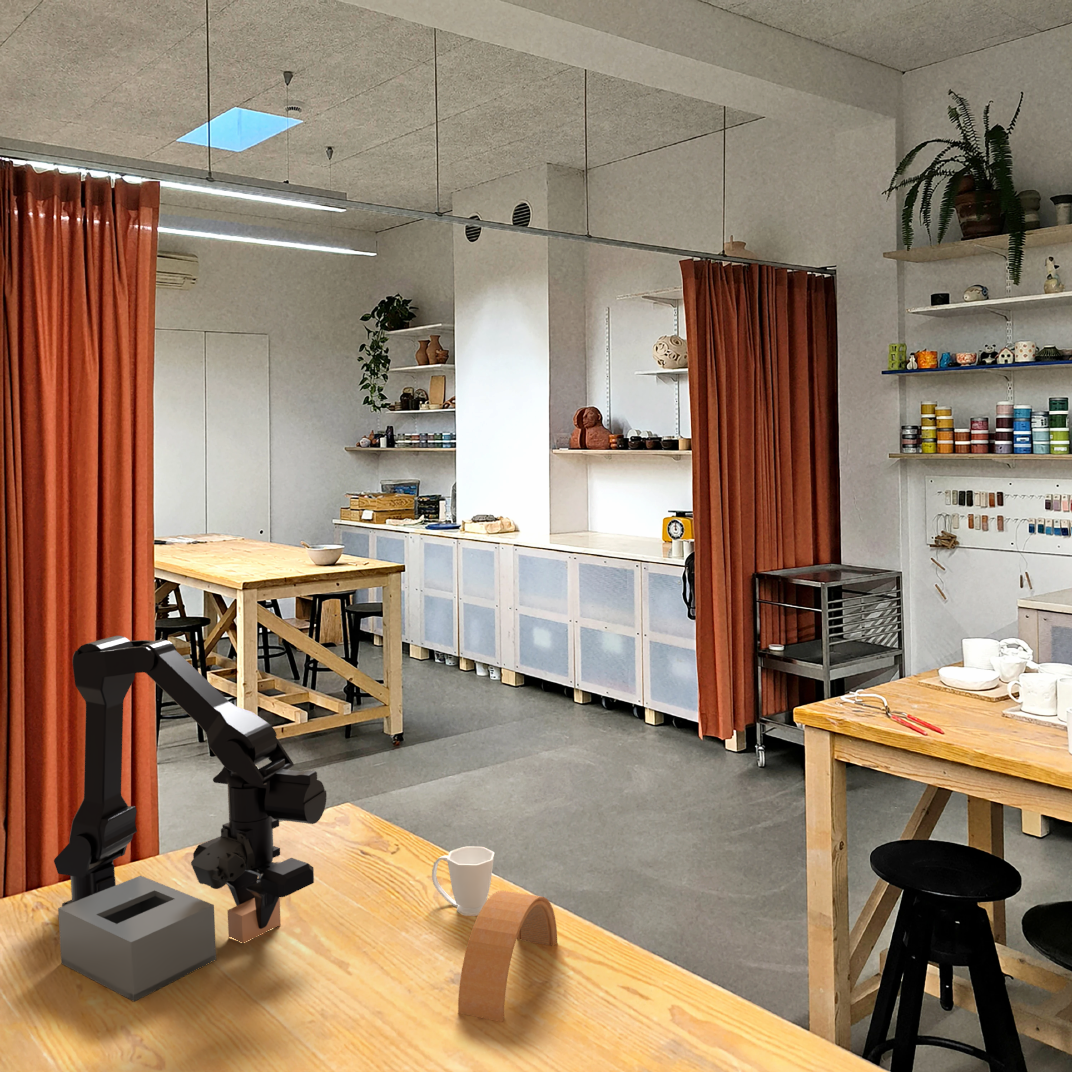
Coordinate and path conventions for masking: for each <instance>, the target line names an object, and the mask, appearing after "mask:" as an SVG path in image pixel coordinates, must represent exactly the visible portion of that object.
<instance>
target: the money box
mask: <svg viewBox="0 0 1072 1072" xmlns="http://www.w3.org/2000/svg"><path fill="white" fill-rule="evenodd" d="M57 911H58V928H59V929H58V930H59V931H58V932H59V944H60V945H59V946H60V963H61V964H62V965H64V966H66V967H67V968H68V969H69V968H70V970H72V971H75V972H77V973H78V974H81V975H82V976H84V977H86V978H88V979H90V980H91V981H94V982H96V983H97V984H100V985H101V986H103V987H105V988H107V989H110V990H111V991H113V992H115V993H117V994H119V995H121V996H122V997H124V998H126V999H128V1000H129V1001H133V1002H136V1001H138V1000H140V999H142V998H143V997H146V996H148V995H150V994H152V993H153V992H156V991H159V990H160V989H162V988H163V987H165V986H168V985H170V984H171V983H174V982H175V981H178V980H179V979H180V980H181V979H182V978H184V977H185V975H186V976H187V974H188V975H189V973H190V972H192V971H194V970H196V969H197V970H199V969H201V968H203V967H205V966H207V965H209V964H211V963H212V962H211V961H213V962H215V961H217V949H216V947H217V944H216V925H215V924H216V921H215V905H214V904H212V903H210V902H208V901H205V900H203V899H200V898H198V897H195V896H193V895H190V894H188V893H185V892H183V891H180V890H177V889H175V888H173V887H170V886H168V885H165V884H163V883H160V882H158V881H156V880H152V878H151V879H150V878H147V877H146V876H142V875H139V876H136V877H133V878H130V879H128V880H126V881H123V882H121V883H118V884H116V885H115V886H113V887H110V888H108V889H105V890H103V891H100V892H98V893H95V894H93V895H90V896H88V897H85V898H83V899H80V900H78V901H75V902H73V903H70V904H67V905H65V906H62V905H61V906H60V907H58V909H57ZM214 960H215V961H214ZM210 962H211V963H210ZM208 963H209V964H208ZM206 964H207V965H206ZM202 966H203V967H202ZM200 967H201V968H200ZM198 968H199V969H198ZM197 970H196V971H197ZM194 972H195V971H194ZM192 973H193V972H192ZM190 974H191V973H190ZM181 977H182V978H181Z"/></svg>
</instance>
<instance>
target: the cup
mask: <svg viewBox="0 0 1072 1072" xmlns="http://www.w3.org/2000/svg"><path fill="white" fill-rule="evenodd" d="M441 860H442V861H445V862H447V867H448V872H449V873H448V874H449V877H450V883H451V884H450V885H451V890H452V894H453V897H451V896H450V895H449V894H448V893H447V892H446V891H445V889H443V887H442V886H441V885H440V883H439V880H438V877H437V870H438V866H439V863H440V862H441ZM494 861H495V851H493V850H491V849H489V848H486V847H484V846H469V845H468V846H462V847H460V848H459V847H458V848H456V849H453V850H450V851H449V853H448V855H442V856H440V857H438V858H437V859H436V860H435V861H434V863H433V865H432V866H433V867H432V869H431V870H432V871H431V880H432V883H433V885H434V887H435V889H436V890H437V892H438V893H439V894H440V895H441V896H442V898H444V899H445V900H446V901H447V902H448V903H449V904H451V905H452V906H453V907H456V912H457V913H459V914H460V915H462V916H467V917H468V916H470V917H476V916H477V917H478V915H479V913H480V911H481V909H482V907H483V905H484V904H485V903H486V901H487V900H488V898H489V897H488V896H489V893H490V888H491V882H492V874H493V868H494ZM453 898H454V899H453Z"/></svg>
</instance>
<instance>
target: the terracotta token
mask: <svg viewBox="0 0 1072 1072" xmlns="http://www.w3.org/2000/svg"><path fill="white" fill-rule="evenodd" d="M280 899H281V897H279V899H278V901H277V903H276V906H275V908H274V910H273V913H272V915H271V917H270V919H269V922H268V924H267V926H266V927H264V928H262V929H260V928H259V927H258V922H257V915H256V906H255V898H253V899H251V900H248V901H246V902H244V903H242V904H240V905H238V906H236V905H235V906H233V907H232V908H229V909H227V929H228V930H227V931H228V934H227V935H228V938H229V937H232V938H234V939H236V940H238V941H240V942H242V943H244V942H246V941H248V940H250V939H252V938H255V937H256V936H258V935H260V934H262V933H264V932H266V931H268V930H270V929H272V928H275V927H277V926H279V925H281V901H280ZM279 927H280V926H279ZM277 928H278V927H277ZM275 929H276V928H275ZM255 939H256V938H255Z"/></svg>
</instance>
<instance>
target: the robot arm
mask: <svg viewBox="0 0 1072 1072" xmlns="http://www.w3.org/2000/svg"><path fill="white" fill-rule="evenodd" d="M71 661H72V670H73V671H72V672H73V677H74V685H75V687H76V689H77V690H78V692H79V693H80V696H82V699H83V700H84V703H85V729H84V730H85V731H84V732H85V733H84V771H83V772H84V773H83V776H84V777H83V778H84V779H83V780H84V781H83V782H84V783H83V784H84V785H83V799H82V802H81V804H80V806H79V807H78V809H77V810H76V814H75V815H74V817H73V819H72V821H71V822H72V823H71V829H70V834H69V838H68V844H67V845H66V846H65V847H64V848H63V849H62V850H61V852H59V854H58V855H57V856H56V857H54V860H53V863H54V866H55V869H56V872H57V874H58V875H63V876H64V875H65V876H70V887H71V889H70V893H71V899H70V900H68V901H67V900H66V901H64V902H63V903H61V907H62V906H65V905H67V904H70V903H73V902H75V901H78V900H80V899H83V898H85V897H88V896H90V895H93V894H95V893H98V892H100V891H103V890H105V889H108V888H110V887H113V886H115V885H117V883H116V876H115V875H116V874H115V864H114V860H116V859H118V858H120V857H122V856H125V854H126V851H127V847H128V844H130V843H131V842H132V840H133V836H134V834H135V833H137V832H138V828H137V826H136V816H137V808H136V806H135V805H132V806H131V805H128V803H127V802H126V800H125V799H124V797H123V795H122V768H123V767H122V766H123V726H124V724H123V723H124V722H123V721H124V701H125V698H126V695H127V694H128V692H129V690H130V688H131V686H132V684H133V683H134V680H135V677H136V674H139V673H145V674H146V675H147V676H148V677H149V678H150V679H151V680H152V681H153V682H154V683H156V685H157V686H159V688H161V689H162V690H163V691H164V692H165V693H166V694H167V695H168V696H169V697H170V699H172V700H173V701H174V702H175V703H176V704H177V705H178V706H179V707H180V708H181V709H182V710H183V711H184V712H185V713H186V714H188V716H190V717H191V719H192V720H193V721H195V722H196V723H197V724H198V725H199V726H200V728H201V729H202V730H203V731H204V733H205V735H206V738H207V742H208V746H209V748H210V750H211V751H212V753H213V754H214V756H215V757H216V758H217V759H218V761H219V762H220V763H221V765H222V766H223V768H222V769H221V771H220V772H219V773H218V774H217V775H215V776H214V777H213V778H212V782H213V783H215V784H224V785H227V800H228V801H227V803H228V804H227V805H228V822H226V823H224V824H222V827H221V828H220V836H217V837H216V838H213V839H209V840H207V841H205V842H202V843H200V844H198V845H197V847H196V848H195V850H194V852H193V853H192V855H193V857H192V858H193V859H192V860H191V862H190V864H191V866H192V869H193V872H194V875H195V877H196V879H197V882H198V883H199V884H200V885H206V886H208V887H210V888H211V889H214V890H218V889H221V888H223V887H225V885H227V887H228V889H229V891H230V893H231V896H232V898H233V901H234V903H235V906H238V905H240V904H242V903H244V902H246V901H248V900H251V899H253V898H255V906H256V915H257V922H258V927H259V928H260V929H262V928H264V927H266V926H267V924H268V922H269V919H270V917H271V915H272V913H273V910H274V908H275V906H276V903H277V901H278V899H279V898H286V897H287V896H289V895H292V894H295V892H298V891H300V890H302V889H305V888H306V887H308V886H311V885H313V884H314V883H315V877H314V875H315V873H314V872H315V871H314V869H315V868H314V867H313V866H312V865H311V864H309V862H305V861H302V860H299V859H296V858H293V857H290V858H288V859H285V860H283V861H276V862H275V861H273V859H274V858H277V857H279V856H281V848H280V847H277V846H275V845H274V832H273V830H274V829H276V828H278V827H280V821H284V822H293V823H302V824H310V825H314V824H316V823H318V822H319V821H320V819H321V818H322V816H323V815H324V812H325V809H326V806H327V805H326V804H327V790H326V789H325V786H324V784H323V782H322V780H319V779H318V772H317V771H316V770H293V769H292V768H293V767H294V762H293V761H292V759H291V757H290V756H289V755H288V753H287V751H286V750H285V749H284V747H283V746H282V744H281V743H280V741H279V740H278V738H277V736H278V735H277V732H276V730H275V728H274V727H273V726H272V725H271V724H270V723H269V722H268V721H266V720H264V719H263V718H261V717H260V716H259V715H258V714H256V713H254V711H251V710H248V709H246V708H245V709H244V708H242V707H239V706H236V705H235V704H233V703H232V702H231V701H229V700H228V699H227V697H225V696H224V695H223V694H222V693H221V692H220V691H219V690H218V689H217V688H216V687H214V685H212V683H210V682H209V680H207V679H206V678H205V676H203V675H202V674H201V673H200V672H199V671H198V670H197V669H196V668H195V667H193V665H192V664H191V663H190V662H188V661H187V660H186V659H185V658H184V657H183V656H182V655H181V654H180V653H179V652H178V651H177V648H176V646H175V645H174V643H173V642H171V641H169V640H166V639H158V640H148V639H141V640H130V639H129V638H127V637H125V636H124V635H123V636H122V635H114V636H111V637H110V636H109V637H106V638H102V639H99V640H95V641H91V642H88V643H87V642H86V643H84V644H81V646H79V648H77V650H75V651H74V652H73V655H72V660H71ZM267 760H269V761H270V762H269V763H267V764H265V765H263V766H261V767H259V768H258V767H257V766H258V765H260V764H261V763H263V762H265V761H267Z"/></svg>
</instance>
